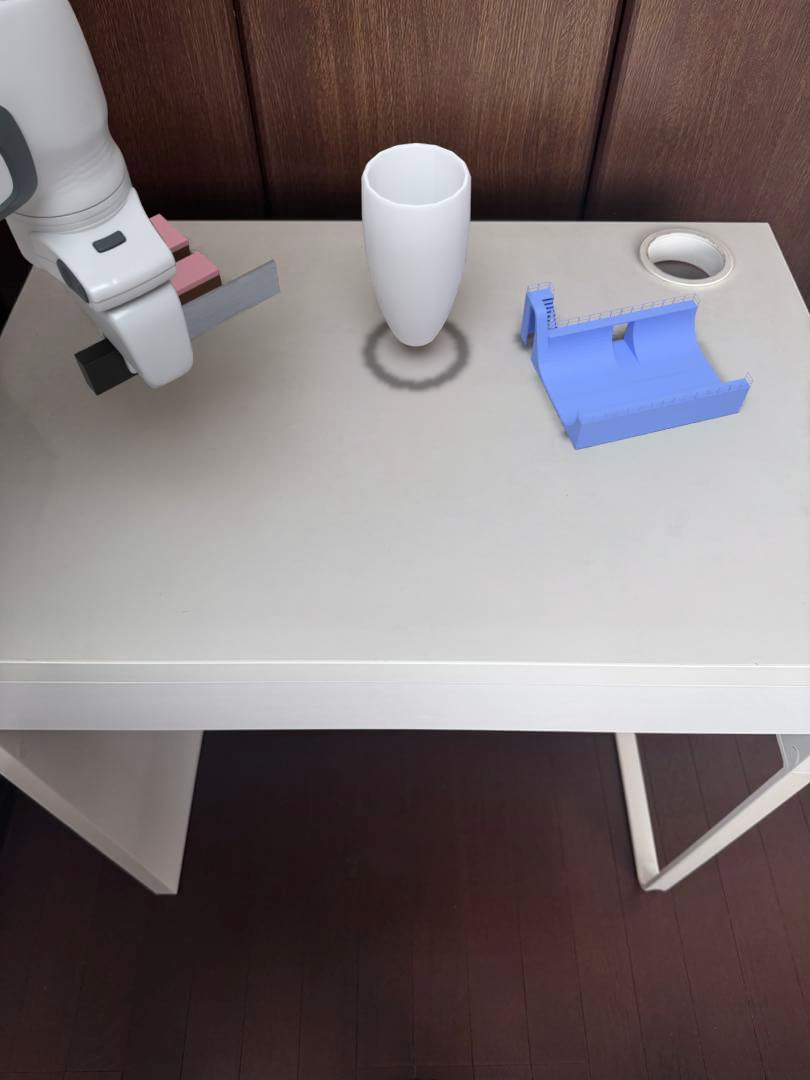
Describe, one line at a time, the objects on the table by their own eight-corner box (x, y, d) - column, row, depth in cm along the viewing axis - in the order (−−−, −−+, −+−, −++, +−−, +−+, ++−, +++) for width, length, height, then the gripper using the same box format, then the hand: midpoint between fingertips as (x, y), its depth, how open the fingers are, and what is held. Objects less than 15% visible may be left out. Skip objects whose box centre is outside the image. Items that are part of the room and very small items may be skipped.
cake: (122, 317, 98) (107, 278, 94) (96, 289, 101) (81, 250, 96) (197, 278, 102) (187, 239, 97) (170, 252, 104) (159, 213, 100)
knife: (97, 396, 73) (83, 366, 70) (86, 384, 73) (73, 354, 70) (285, 296, 79) (280, 265, 76) (273, 286, 80) (268, 254, 77)
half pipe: (575, 449, 87) (587, 401, 81) (519, 337, 96) (527, 285, 90) (738, 412, 90) (761, 362, 84) (670, 305, 99) (686, 253, 93)
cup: (352, 370, 94) (337, 194, 76) (390, 307, 99) (385, 129, 81) (442, 397, 91) (450, 223, 73) (477, 332, 97) (491, 154, 78)
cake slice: (151, 349, 96) (138, 310, 91) (133, 329, 97) (119, 290, 93) (227, 308, 99) (218, 269, 94) (208, 289, 101) (199, 250, 96)
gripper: (-30, 161, 65) (37, 304, 76) (103, 310, 56) (156, 446, 68) (48, 129, 67) (102, 273, 78) (187, 268, 58) (225, 407, 70)
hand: (128, 354), depth 73 cm, fingers closed on knife, 2 cm apart
